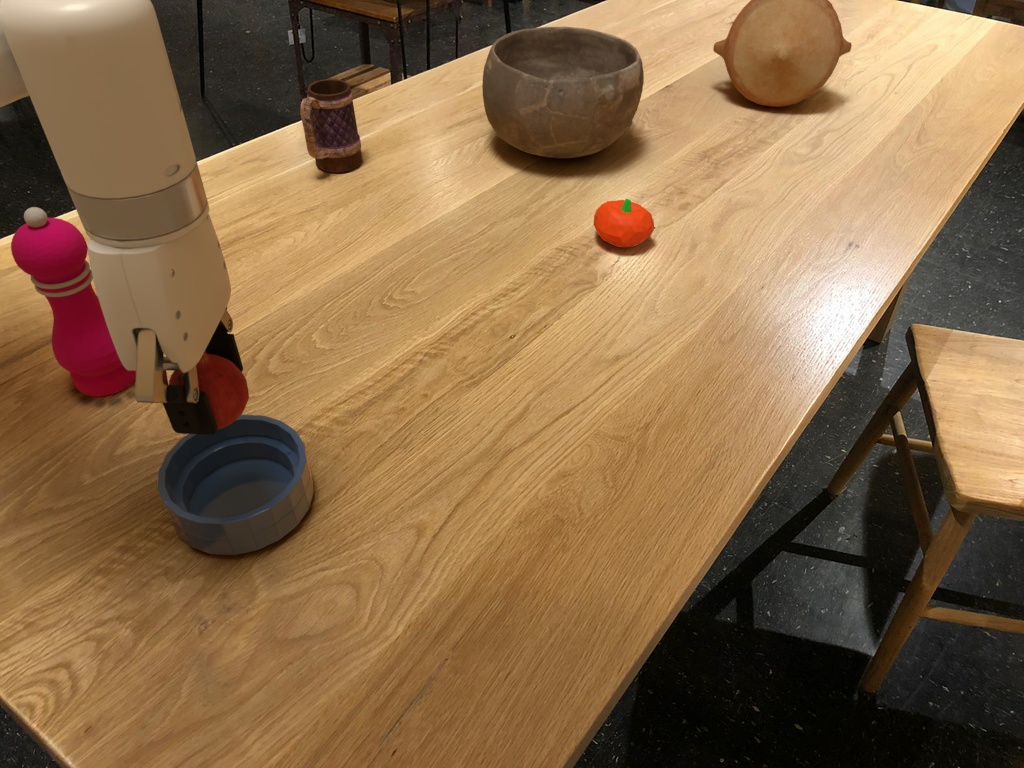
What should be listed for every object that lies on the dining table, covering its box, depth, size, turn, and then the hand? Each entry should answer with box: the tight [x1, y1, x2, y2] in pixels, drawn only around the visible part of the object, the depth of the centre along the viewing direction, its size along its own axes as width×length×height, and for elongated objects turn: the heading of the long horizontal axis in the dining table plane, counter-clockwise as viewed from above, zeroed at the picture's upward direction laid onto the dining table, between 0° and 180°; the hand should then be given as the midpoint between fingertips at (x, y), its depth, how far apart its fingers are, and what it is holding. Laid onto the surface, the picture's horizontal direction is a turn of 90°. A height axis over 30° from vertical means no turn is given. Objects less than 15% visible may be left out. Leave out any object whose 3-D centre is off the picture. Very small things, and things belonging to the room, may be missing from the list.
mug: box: [300, 78, 363, 174], centre depth 111 cm, size 10×7×12 cm
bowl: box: [481, 26, 645, 159], centre depth 117 cm, size 24×24×15 cm
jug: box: [712, 0, 853, 108], centre depth 136 cm, size 20×19×30 cm
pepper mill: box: [10, 206, 136, 397], centre depth 74 cm, size 7×7×20 cm
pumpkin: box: [593, 198, 656, 249], centre depth 100 cm, size 7×8×6 cm
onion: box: [168, 351, 250, 429], centre depth 59 cm, size 6×6×8 cm
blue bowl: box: [157, 414, 315, 556], centre depth 67 cm, size 12×12×5 cm
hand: (210, 399), depth 60 cm, fingers closed on onion, 5 cm apart
